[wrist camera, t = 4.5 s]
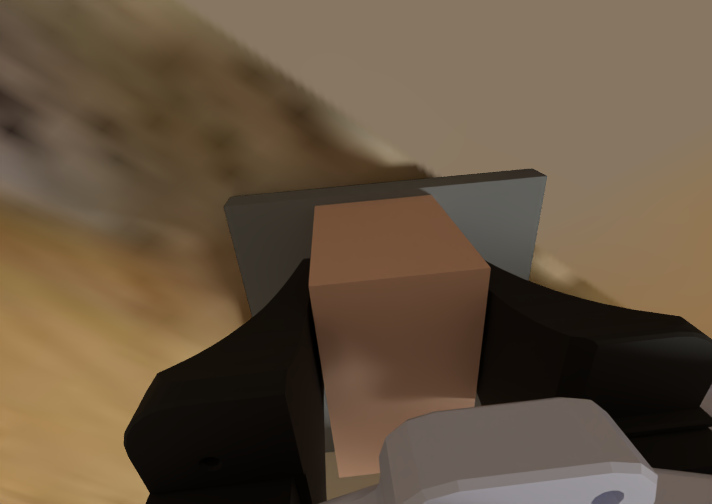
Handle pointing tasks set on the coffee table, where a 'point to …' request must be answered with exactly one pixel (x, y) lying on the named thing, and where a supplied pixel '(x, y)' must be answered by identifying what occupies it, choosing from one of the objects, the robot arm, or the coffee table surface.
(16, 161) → the coffee table surface
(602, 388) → the robot arm
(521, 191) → the mat
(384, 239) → the stub
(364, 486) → the pad
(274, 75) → the coffee table surface
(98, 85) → the coffee table surface
